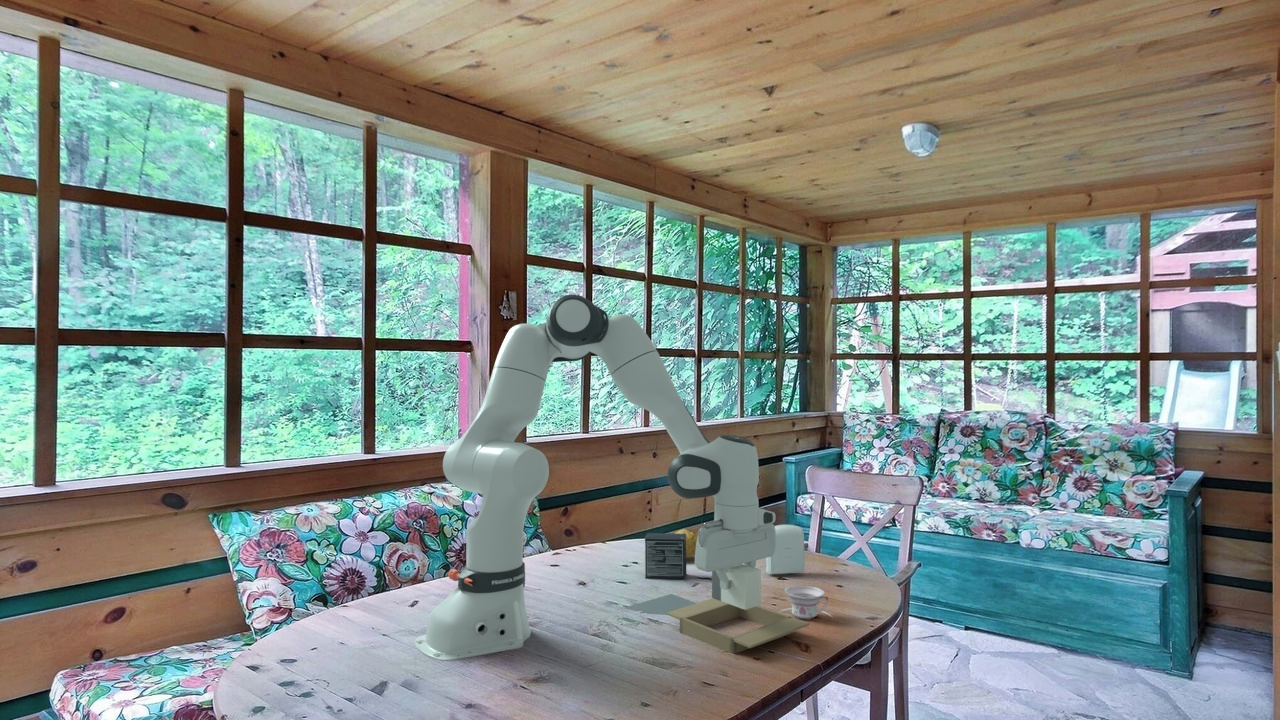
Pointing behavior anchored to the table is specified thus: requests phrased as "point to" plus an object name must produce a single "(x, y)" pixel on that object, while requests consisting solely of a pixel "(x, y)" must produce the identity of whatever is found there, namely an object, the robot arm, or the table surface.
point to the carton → (717, 611)
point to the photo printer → (787, 551)
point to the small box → (665, 556)
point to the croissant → (689, 541)
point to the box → (739, 587)
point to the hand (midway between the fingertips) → (735, 585)
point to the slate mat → (661, 605)
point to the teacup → (805, 601)
